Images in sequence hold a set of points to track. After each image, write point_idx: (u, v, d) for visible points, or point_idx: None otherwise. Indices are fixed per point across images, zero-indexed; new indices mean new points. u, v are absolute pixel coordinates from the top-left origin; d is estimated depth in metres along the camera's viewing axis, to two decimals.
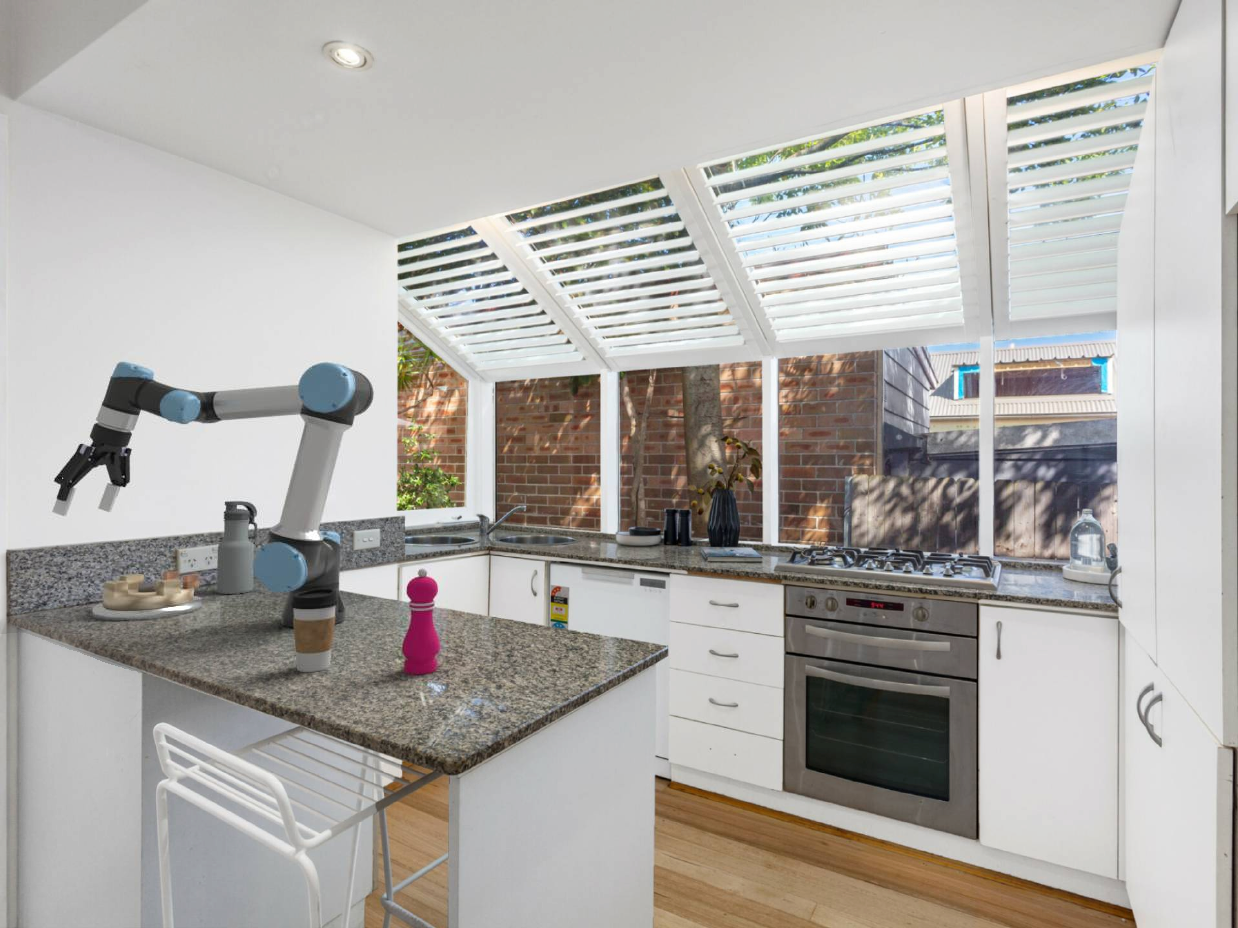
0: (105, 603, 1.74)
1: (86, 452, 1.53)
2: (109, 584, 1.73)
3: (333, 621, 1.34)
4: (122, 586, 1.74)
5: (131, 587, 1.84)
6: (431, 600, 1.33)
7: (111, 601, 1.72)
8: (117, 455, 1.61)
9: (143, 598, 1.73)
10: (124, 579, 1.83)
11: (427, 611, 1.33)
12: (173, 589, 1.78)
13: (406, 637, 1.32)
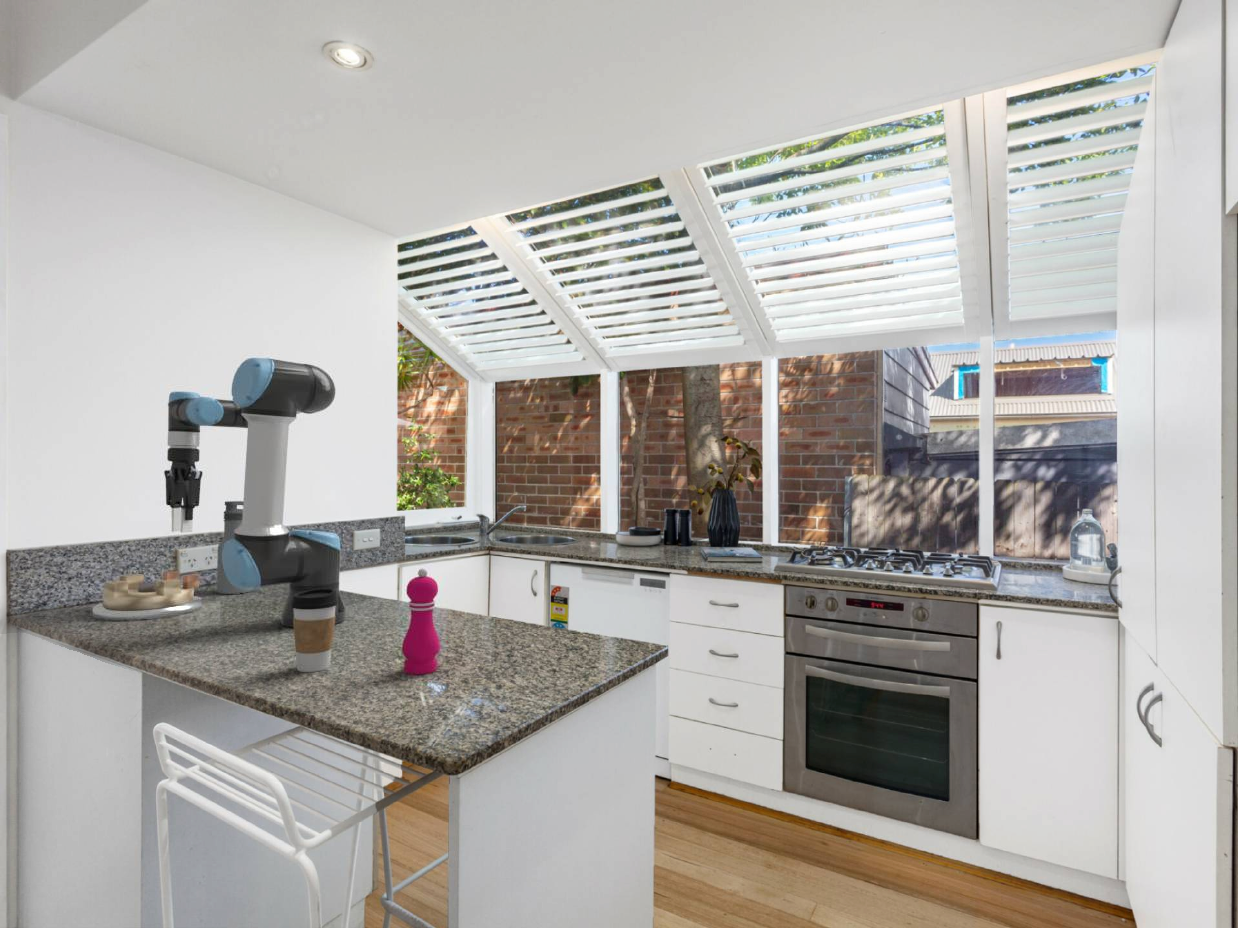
0: (105, 603, 1.74)
1: None
2: (109, 584, 1.73)
3: (333, 621, 1.34)
4: (122, 586, 1.74)
5: (131, 587, 1.84)
6: (431, 600, 1.33)
7: (111, 601, 1.72)
8: (179, 471, 1.87)
9: (143, 598, 1.73)
10: (124, 579, 1.83)
11: (427, 611, 1.33)
12: (173, 589, 1.78)
13: (406, 637, 1.32)
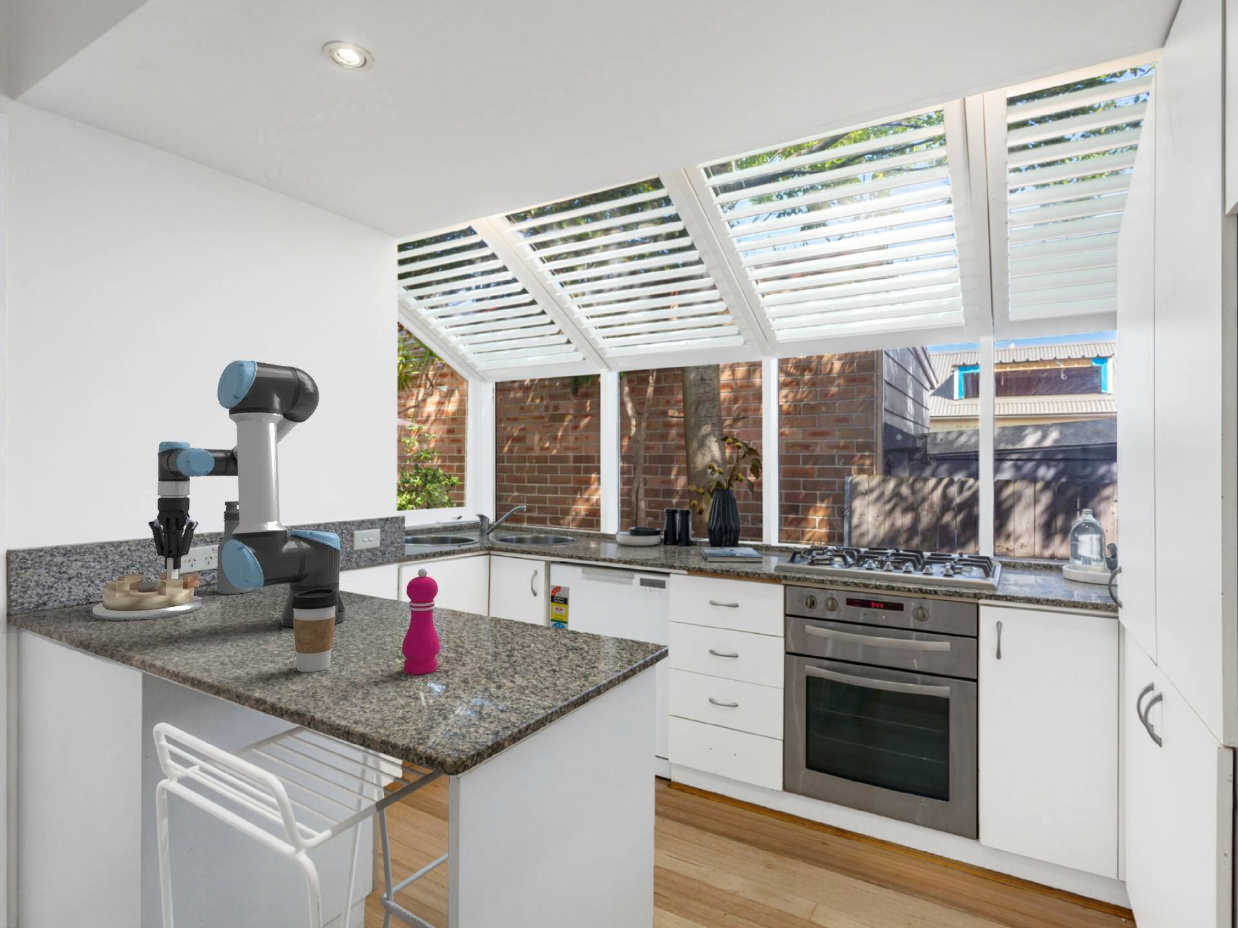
0: (106, 603, 1.73)
1: None
2: (110, 584, 1.73)
3: (333, 621, 1.34)
4: (123, 586, 1.74)
5: (130, 587, 1.83)
6: (431, 600, 1.33)
7: (113, 602, 1.72)
8: (174, 520, 1.88)
9: (145, 598, 1.73)
10: (123, 579, 1.83)
11: (427, 611, 1.33)
12: (175, 589, 1.78)
13: (406, 637, 1.32)
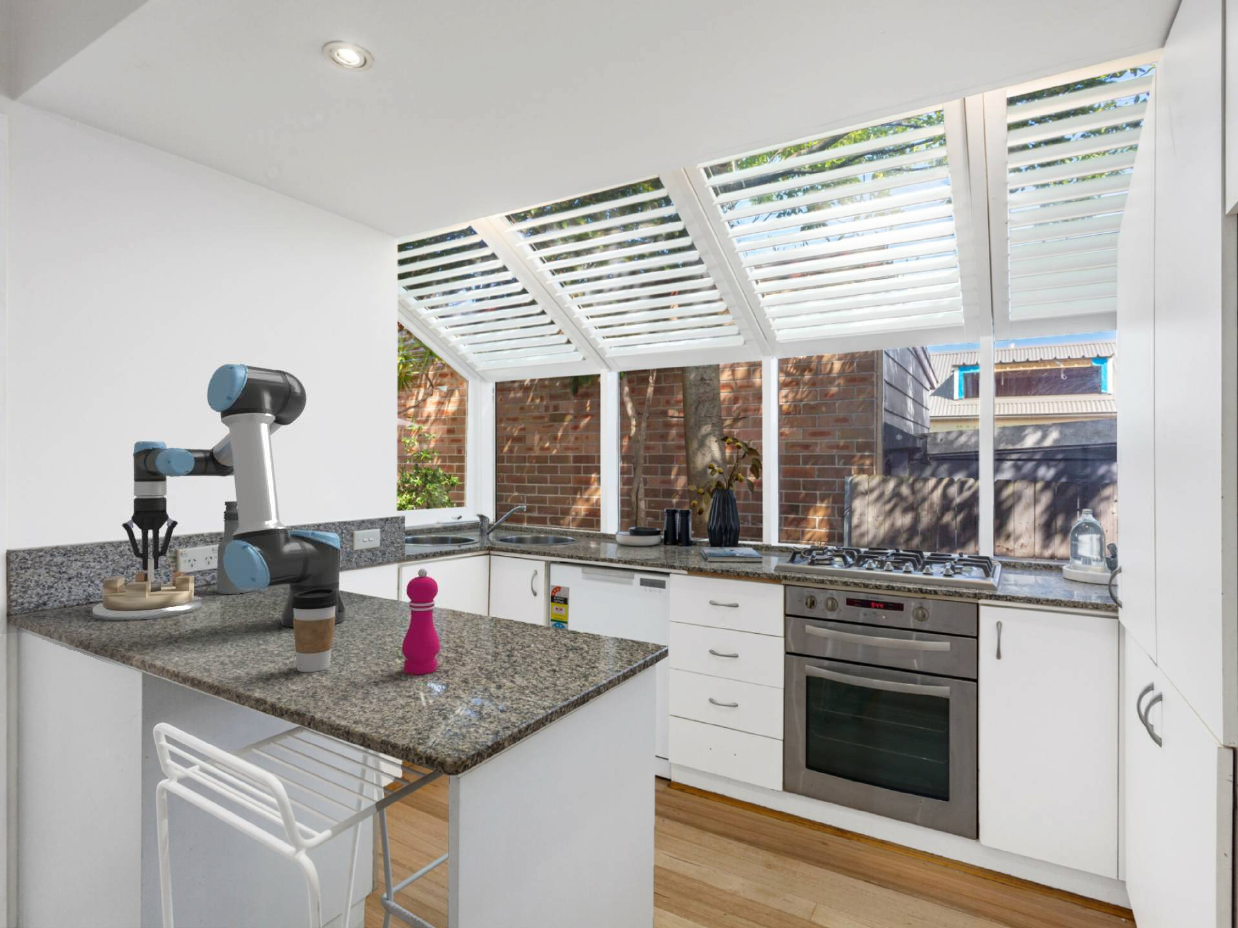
0: (128, 605, 1.72)
1: (125, 529, 1.84)
2: (136, 585, 1.72)
3: (333, 621, 1.34)
4: (148, 586, 1.75)
5: (119, 590, 1.79)
6: (431, 600, 1.33)
7: (141, 602, 1.73)
8: (158, 520, 1.88)
9: (176, 594, 1.78)
10: (113, 583, 1.77)
11: (427, 611, 1.33)
12: (191, 584, 1.85)
13: (406, 637, 1.32)
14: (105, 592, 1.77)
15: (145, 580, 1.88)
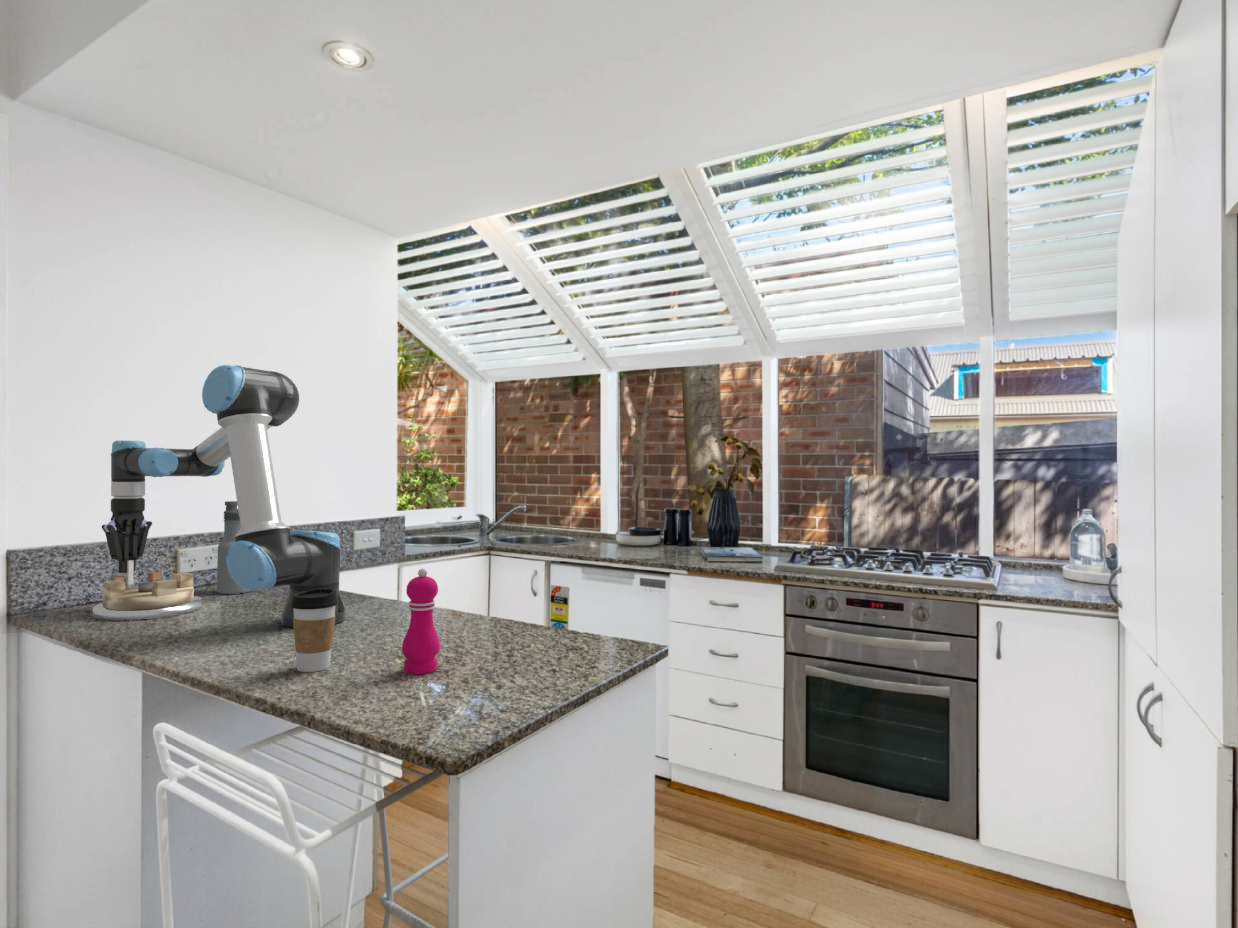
0: (160, 603, 1.75)
1: (110, 531, 1.78)
2: (167, 583, 1.76)
3: (333, 621, 1.34)
4: None
5: None
6: (431, 600, 1.33)
7: (172, 598, 1.77)
8: (138, 521, 1.85)
9: (192, 590, 1.85)
10: (121, 585, 1.74)
11: (427, 611, 1.33)
12: None
13: (406, 637, 1.32)
14: (112, 595, 1.73)
15: None
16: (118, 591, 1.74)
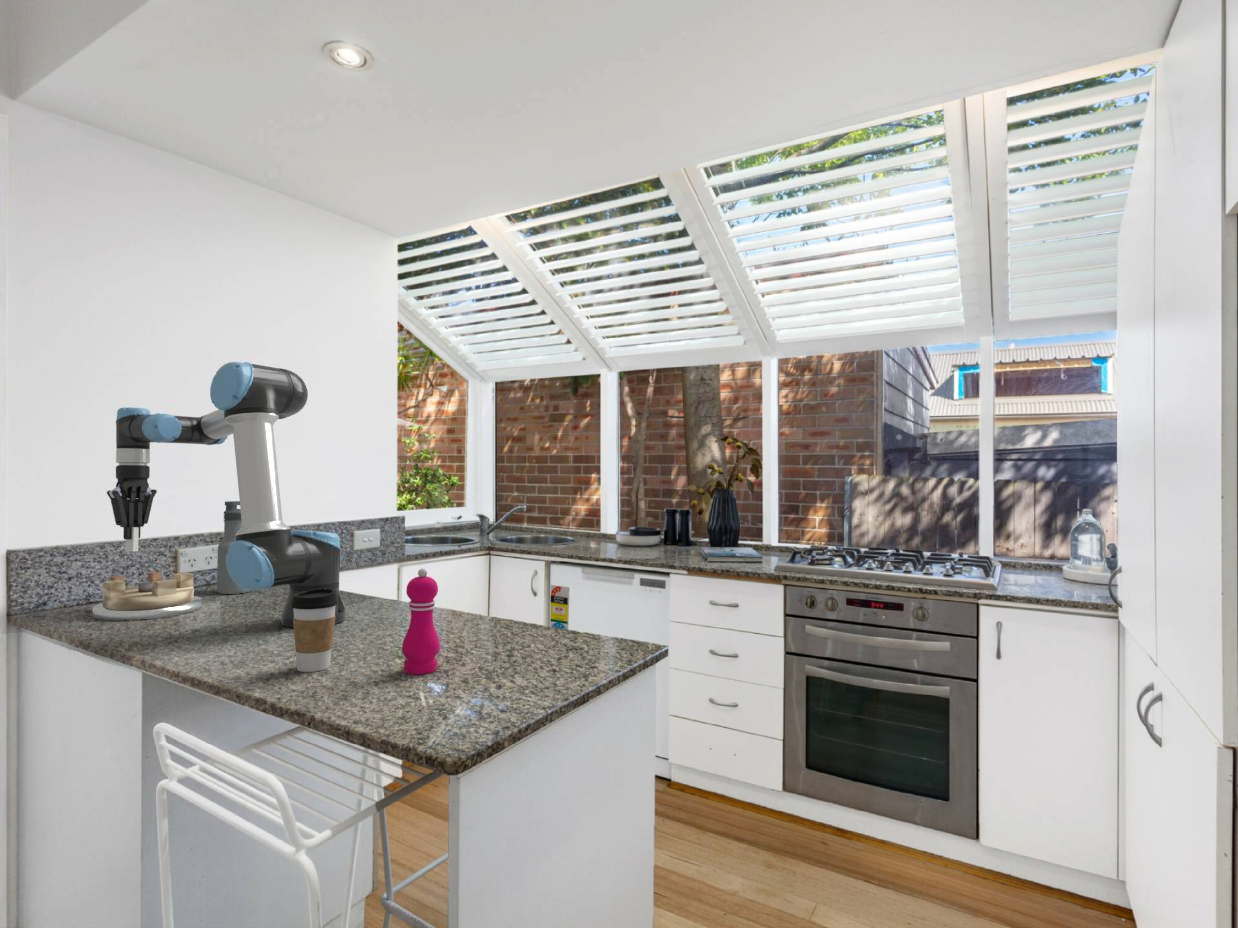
0: (160, 603, 1.75)
1: (115, 496, 1.79)
2: (167, 583, 1.76)
3: (333, 621, 1.34)
4: None
5: None
6: (431, 600, 1.33)
7: (172, 598, 1.77)
8: (143, 488, 1.86)
9: (192, 590, 1.85)
10: (121, 585, 1.74)
11: (427, 611, 1.33)
12: None
13: (406, 637, 1.32)
14: (112, 595, 1.73)
15: None
16: (118, 591, 1.74)
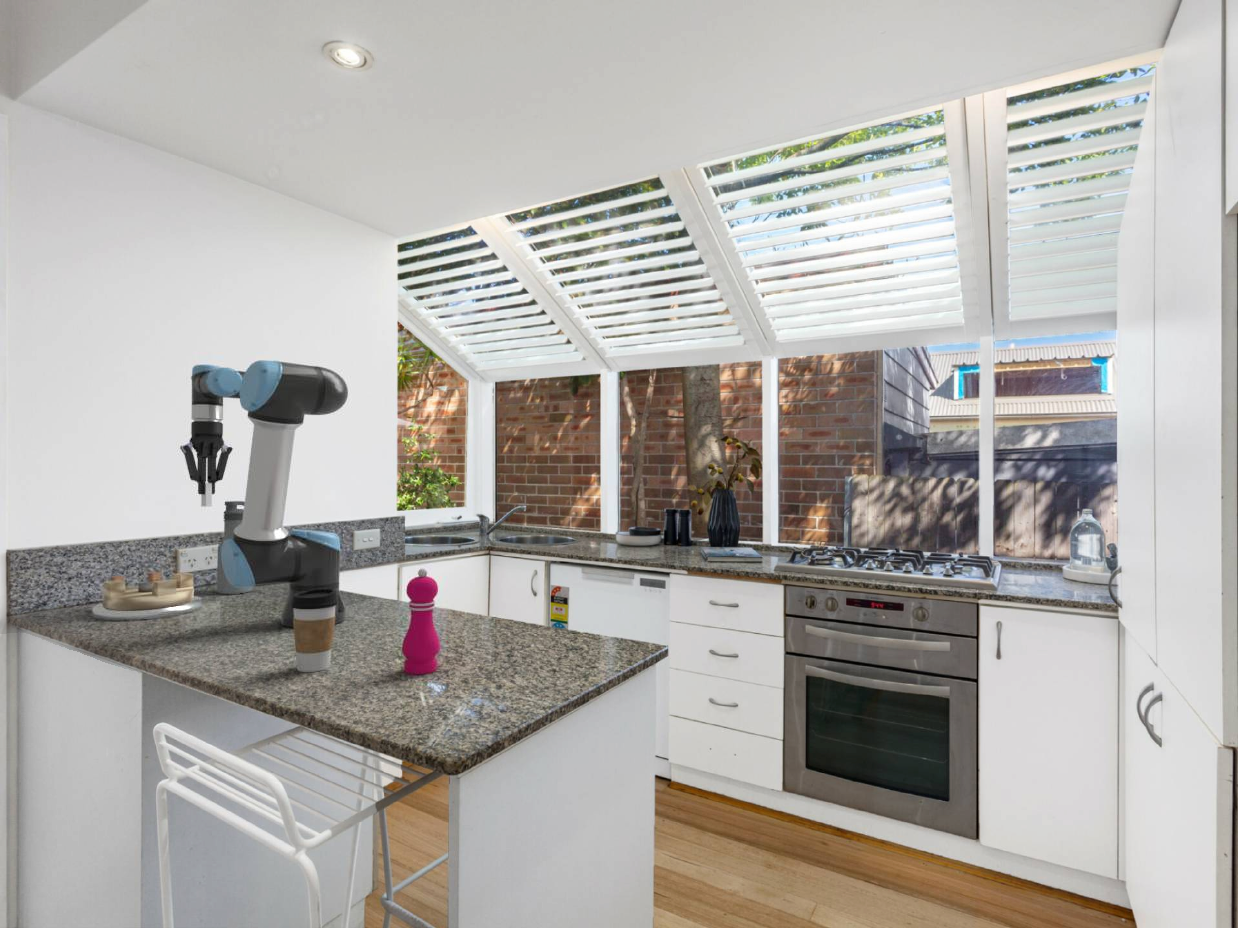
0: (160, 603, 1.75)
1: (186, 451, 1.83)
2: (167, 583, 1.76)
3: (333, 621, 1.34)
4: None
5: None
6: (431, 600, 1.33)
7: (172, 598, 1.77)
8: (216, 445, 1.89)
9: (192, 590, 1.85)
10: (121, 585, 1.74)
11: (427, 611, 1.33)
12: None
13: (406, 637, 1.32)
14: (112, 595, 1.73)
15: None
16: (118, 591, 1.74)
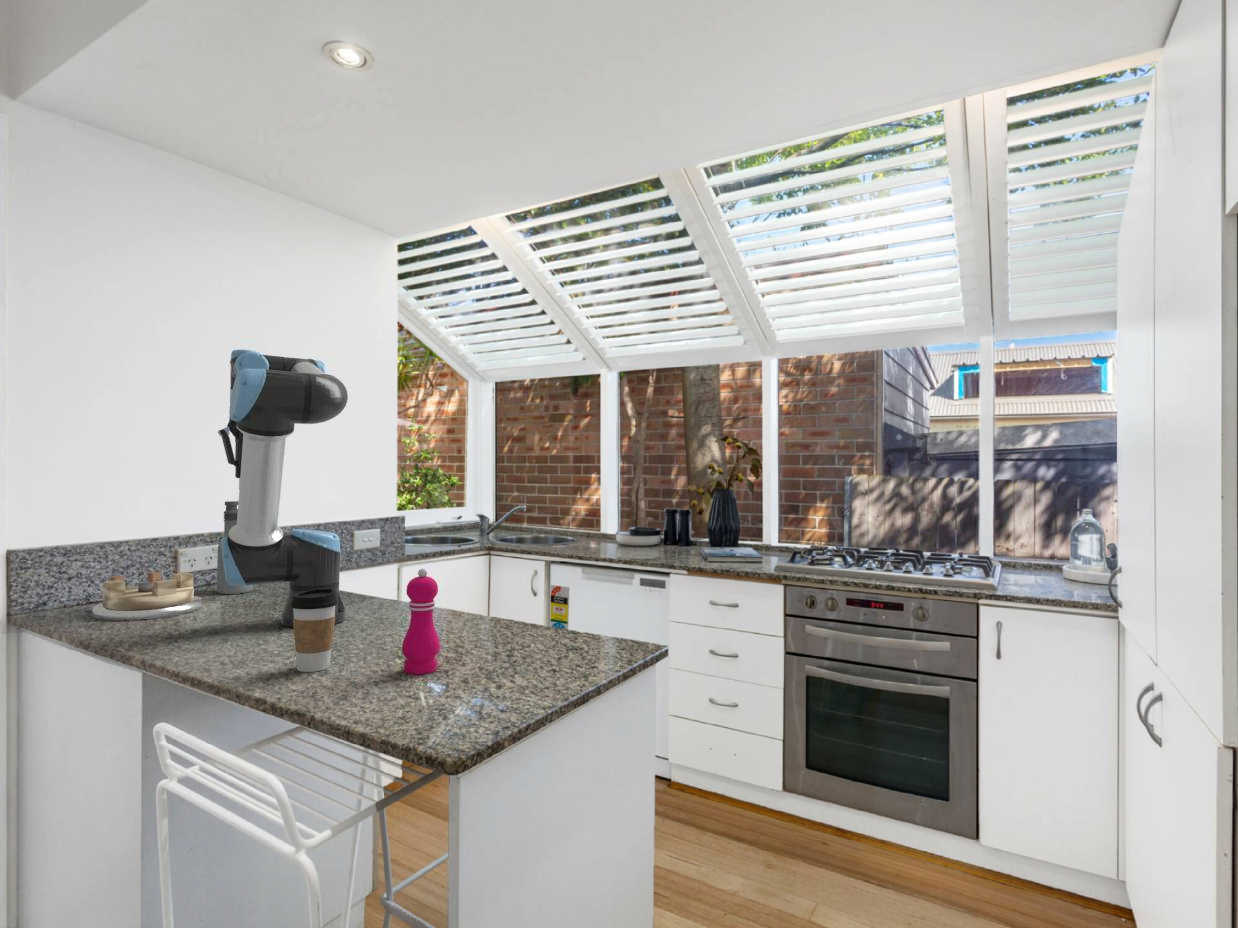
0: (160, 603, 1.75)
1: (222, 435, 1.86)
2: (167, 583, 1.76)
3: (333, 621, 1.34)
4: None
5: None
6: (431, 600, 1.33)
7: (172, 598, 1.77)
8: None
9: (192, 590, 1.85)
10: (121, 585, 1.74)
11: (427, 611, 1.33)
12: None
13: (406, 637, 1.32)
14: (112, 595, 1.73)
15: None
16: (118, 591, 1.74)
